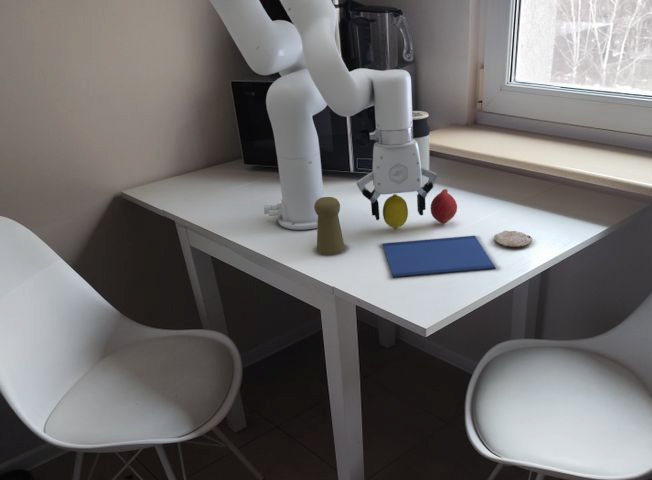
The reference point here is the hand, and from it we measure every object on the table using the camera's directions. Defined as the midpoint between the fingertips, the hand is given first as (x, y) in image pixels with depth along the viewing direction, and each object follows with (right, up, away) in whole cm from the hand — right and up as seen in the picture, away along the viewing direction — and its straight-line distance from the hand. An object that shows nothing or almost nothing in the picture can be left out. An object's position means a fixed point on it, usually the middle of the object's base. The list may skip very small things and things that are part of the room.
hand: (398, 215), depth 136 cm
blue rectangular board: (+7, -11, -11) cm, 17 cm away
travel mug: (+5, +14, +27) cm, 31 cm away
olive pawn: (-15, -8, -6) cm, 18 cm away
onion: (+10, -1, +4) cm, 11 cm away
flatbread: (+24, -7, -7) cm, 25 cm away
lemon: (-1, -3, +2) cm, 4 cm away
